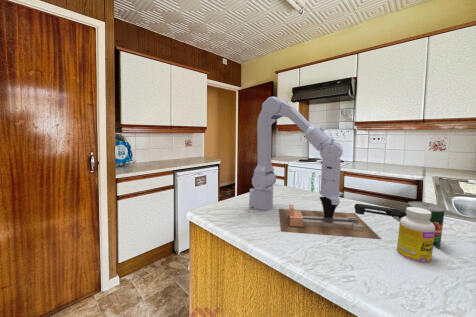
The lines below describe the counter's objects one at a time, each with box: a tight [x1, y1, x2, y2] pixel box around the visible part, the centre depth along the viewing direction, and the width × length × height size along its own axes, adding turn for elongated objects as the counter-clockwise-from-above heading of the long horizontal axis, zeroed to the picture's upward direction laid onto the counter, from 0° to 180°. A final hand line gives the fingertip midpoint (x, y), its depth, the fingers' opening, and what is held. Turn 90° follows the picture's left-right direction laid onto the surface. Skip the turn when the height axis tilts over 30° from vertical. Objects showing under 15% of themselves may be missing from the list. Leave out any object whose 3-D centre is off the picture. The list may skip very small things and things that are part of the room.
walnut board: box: [278, 208, 382, 240], centre depth 73 cm, size 28×20×2 cm
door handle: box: [353, 203, 407, 223], centre depth 79 cm, size 3×20×16 cm
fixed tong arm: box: [303, 219, 364, 231], centre depth 68 cm, size 21×2×2 cm, turn 81°
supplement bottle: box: [396, 206, 435, 263], centre depth 53 cm, size 7×7×13 cm
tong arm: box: [303, 216, 359, 223], centre depth 72 cm, size 18×2×2 cm, turn 85°
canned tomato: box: [407, 201, 446, 250], centre depth 61 cm, size 8×8×11 cm
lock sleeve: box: [288, 204, 303, 227], centre depth 71 cm, size 4×7×5 cm, turn 171°
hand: (328, 218), depth 73 cm, fingers closed
